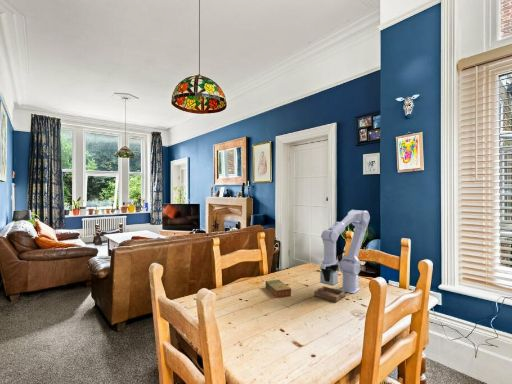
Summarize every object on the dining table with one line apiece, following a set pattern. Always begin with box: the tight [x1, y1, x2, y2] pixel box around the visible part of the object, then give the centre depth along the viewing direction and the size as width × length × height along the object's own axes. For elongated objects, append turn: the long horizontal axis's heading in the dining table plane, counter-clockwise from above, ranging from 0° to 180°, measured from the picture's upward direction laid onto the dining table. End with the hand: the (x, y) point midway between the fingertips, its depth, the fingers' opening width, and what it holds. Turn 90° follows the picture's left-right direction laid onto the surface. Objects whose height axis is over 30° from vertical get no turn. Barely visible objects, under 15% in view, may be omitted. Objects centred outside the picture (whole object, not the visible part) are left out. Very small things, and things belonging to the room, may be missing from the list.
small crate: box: [319, 270, 339, 287], centre depth 139 cm, size 5×7×6 cm
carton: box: [265, 279, 292, 299], centre depth 146 cm, size 8×16×4 cm, turn 19°
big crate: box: [313, 286, 346, 303], centre depth 139 cm, size 10×12×2 cm
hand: (329, 280), depth 139 cm, fingers closed on small crate, 5 cm apart
